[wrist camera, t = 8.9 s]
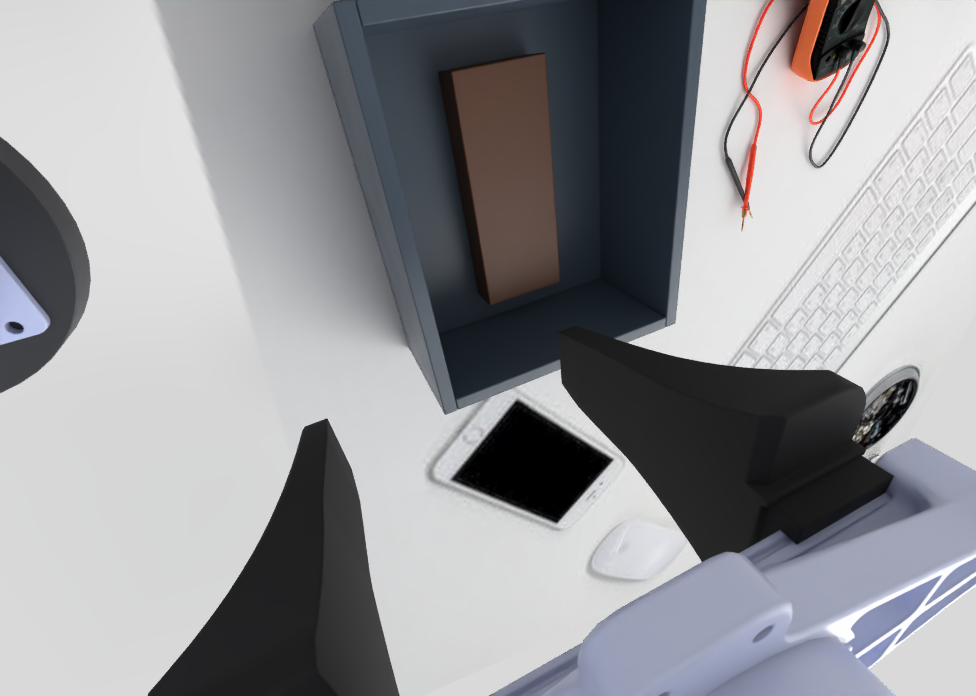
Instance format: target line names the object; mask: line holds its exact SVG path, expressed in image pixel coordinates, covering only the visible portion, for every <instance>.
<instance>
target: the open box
mask: <svg viewBox="0 0 976 696" xmlns="http://www.w3.org/2000/svg"><path fill="white" fill-rule="evenodd" d="M706 3H707V0H340V1H334V2H333V3H332V4H331V5H330V6H329V7H328V8H327V9H326V11H325V12H324V13H323V14H322V15H321V16H320V17H319V19H318V20H317V21H316V22H315V23H314V24H313V28H314V31H315V35H316V38H317V41H318V45H319V48H320V52H321V55H322V58H323V62H324V65H325V68H326V72H327V75H328V78H329V82H330V85H331V88H332V92H333V95H334V98H335V102H336V105H337V108H338V112H339V115H340V118H341V122H342V125H343V128H344V132H345V135H346V138H347V142H348V145H349V148H350V152H351V155H352V158H353V162H354V165H355V168H356V172H357V175H358V178H359V182H360V185H361V188H362V192H363V195H364V198H365V202H366V205H367V208H368V212H369V215H370V218H371V222H372V225H373V228H374V232H375V235H376V238H377V242H378V245H379V248H380V252H381V255H382V258H383V262H384V265H385V268H386V272H387V275H388V278H389V282H390V285H391V289H392V292H393V295H394V299H395V302H396V305H397V309H398V312H399V315H400V319H401V322H402V325H403V329H404V332H405V335H406V339H407V342H408V345H409V349H410V351H411V352H412V354H413V356H414V358H415V360H416V362H417V364H418V365H419V367H420V369H421V371H422V373H423V375H424V377H425V379H426V380H427V382H428V384H429V386H430V388H431V390H432V392H433V393H434V395H435V397H436V399H437V401H438V403H439V405H440V407H441V408H442V410H443V412H444V414H445V415H446V414H449V413H451V412H454V411H456V410H457V409H461V408H464V407H466V406H469V405H471V404H474V403H476V402H479V401H481V400H484V399H486V398H489V397H492V396H494V395H497V394H499V393H502V392H504V391H507V390H509V389H512V388H514V387H517V386H519V385H522V384H524V383H527V382H529V381H532V380H534V379H537V378H539V377H542V376H544V375H547V374H549V373H552V372H554V371H557V370H559V369H561V366H560V353H559V341H558V332H560V331H563V330H565V329H568V328H571V327H573V326H577V327H581V328H584V329H587V330H590V331H593V332H596V333H599V334H602V335H605V336H608V337H611V338H614V339H617V340H620V341H623V342H626V343H627V342H630V341H632V340H635V339H637V338H640V337H642V336H645V335H647V334H650V333H652V332H655V331H657V330H660V329H662V328H665V327H667V326H670V325H672V324H675V320H676V310H677V300H678V289H679V279H680V269H681V259H682V248H683V238H684V228H685V218H686V207H687V197H688V187H689V177H690V166H691V156H692V146H693V136H694V125H695V115H696V105H697V95H698V84H699V74H700V64H701V54H702V44H703V33H704V23H705V13H706ZM534 53H545V56H546V71H547V86H548V101H549V117H550V132H551V147H552V163H553V178H554V193H555V208H556V224H557V239H558V254H559V270H560V282H558V283H555V284H552V285H550V286H547V287H544V288H541V289H538V290H535V291H532V292H529V293H526V294H523V295H520V296H517V297H515V298H512V299H509V300H506V301H503V302H500V303H497V304H494V305H491V306H490V305H489V304H488V303H487V302H486V301H485V300H484V299H483V298H482V297H481V296H480V295H479V294H478V289H477V283H476V278H475V272H474V267H473V261H472V256H471V250H470V245H469V239H468V234H467V228H466V223H465V217H464V211H463V206H462V200H461V195H460V189H459V184H458V178H457V173H456V167H455V162H454V156H453V151H452V145H451V140H450V134H449V128H448V123H447V117H446V112H445V106H444V101H443V95H442V90H441V84H440V79H439V71H443V70H448V69H453V68H458V67H463V66H468V65H474V64H479V63H484V62H489V61H494V60H499V59H504V58H510V57H515V56H520V55H525V54H534Z"/></svg>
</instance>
